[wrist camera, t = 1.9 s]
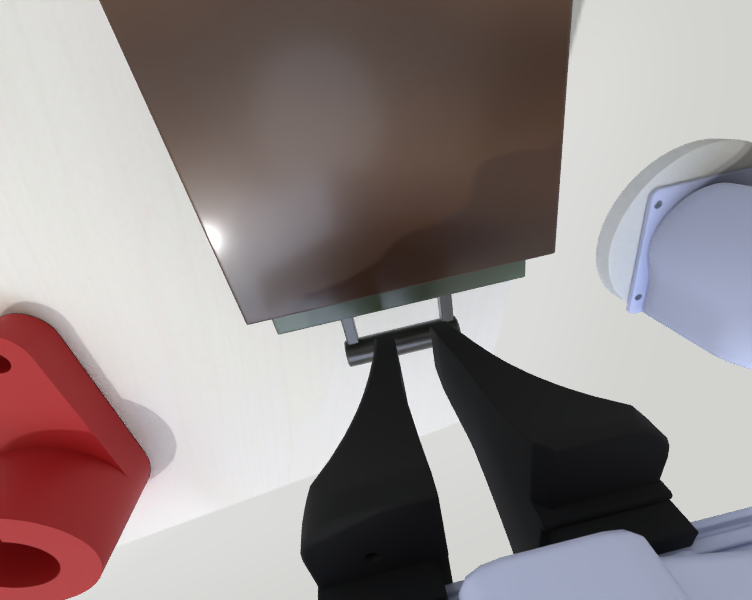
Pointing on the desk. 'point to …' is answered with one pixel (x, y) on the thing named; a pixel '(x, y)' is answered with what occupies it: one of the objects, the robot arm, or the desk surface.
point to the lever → (58, 467)
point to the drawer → (408, 336)
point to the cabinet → (356, 136)
